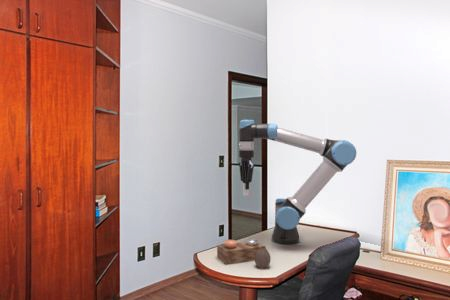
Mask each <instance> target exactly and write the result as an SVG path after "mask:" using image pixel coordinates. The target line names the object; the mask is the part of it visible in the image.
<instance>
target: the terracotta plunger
mask: <svg viewBox="0 0 450 300" xmlns="http://www.w3.org/2000/svg"><path fill="white" fill-rule="evenodd" d="M237 243H238V241H237V240H235V239H227V240H226V239H225V240H224V244H225V247H228V248H233V247H236V246H237Z"/></svg>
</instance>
